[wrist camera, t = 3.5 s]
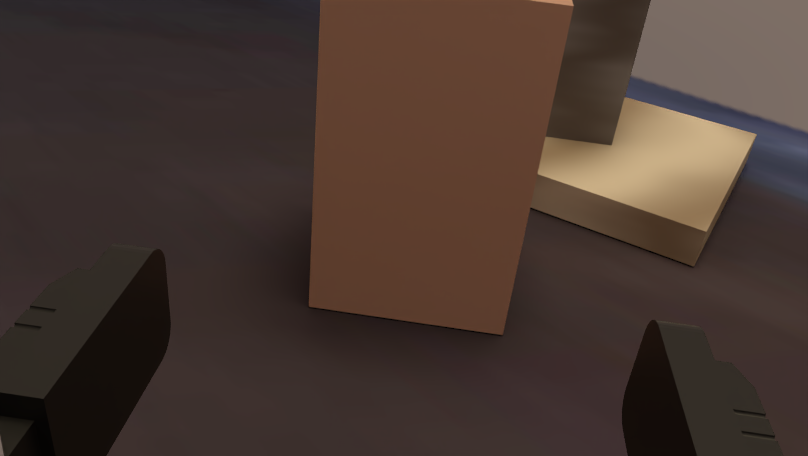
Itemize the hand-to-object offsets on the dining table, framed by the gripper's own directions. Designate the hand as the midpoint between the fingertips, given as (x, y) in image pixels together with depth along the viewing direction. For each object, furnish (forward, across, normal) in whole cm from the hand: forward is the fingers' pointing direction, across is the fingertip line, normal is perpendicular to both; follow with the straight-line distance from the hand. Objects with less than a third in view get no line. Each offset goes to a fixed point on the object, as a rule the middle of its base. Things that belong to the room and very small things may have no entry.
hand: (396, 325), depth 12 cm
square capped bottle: (+11, 0, +6) cm, 13 cm away
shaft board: (+22, -6, +6) cm, 23 cm away
